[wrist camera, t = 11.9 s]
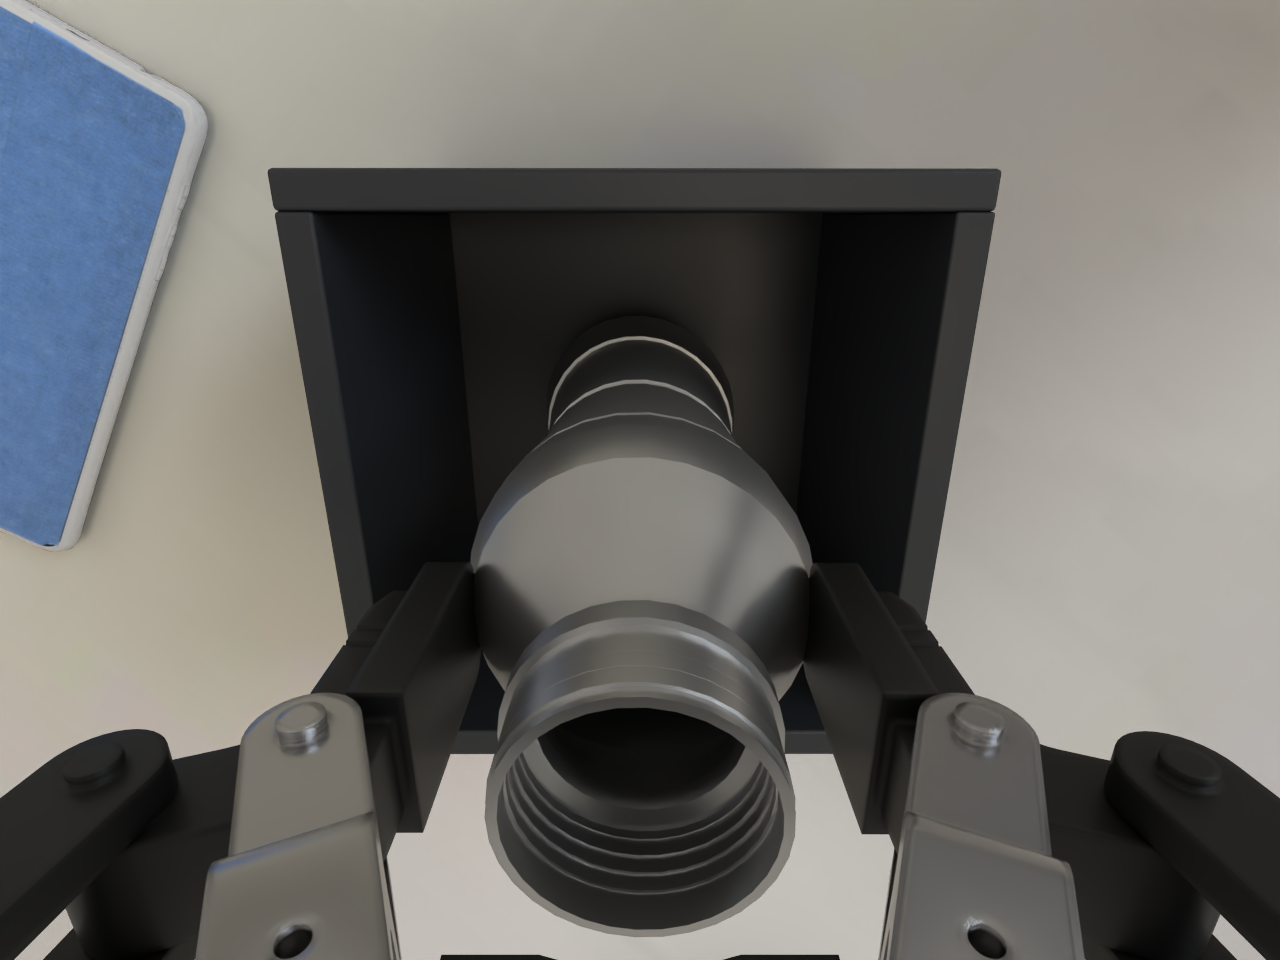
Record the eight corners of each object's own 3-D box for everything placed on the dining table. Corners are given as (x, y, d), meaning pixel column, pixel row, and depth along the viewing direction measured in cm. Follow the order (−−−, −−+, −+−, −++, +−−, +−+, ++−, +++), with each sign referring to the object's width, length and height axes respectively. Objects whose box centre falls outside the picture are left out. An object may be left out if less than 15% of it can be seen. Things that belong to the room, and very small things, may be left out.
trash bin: (432, 189, 25) (264, 167, 14) (839, 189, 25) (1004, 168, 14) (468, 554, 30) (367, 755, 19) (805, 554, 30) (903, 755, 19)
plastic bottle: (670, 271, 25) (757, 444, 6) (756, 427, 27) (1012, 906, 8) (520, 362, 26) (220, 733, 7) (614, 504, 28) (561, 1076, 10)
